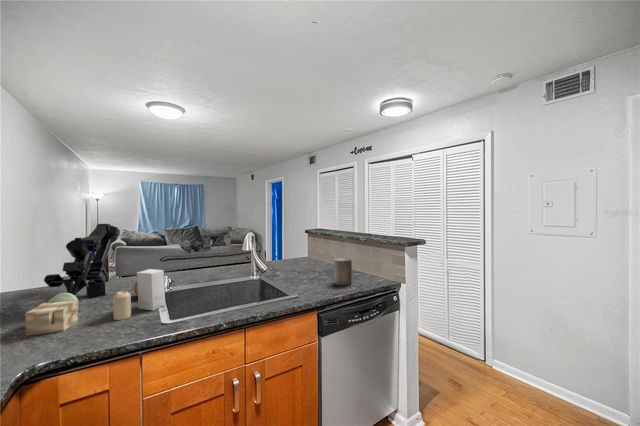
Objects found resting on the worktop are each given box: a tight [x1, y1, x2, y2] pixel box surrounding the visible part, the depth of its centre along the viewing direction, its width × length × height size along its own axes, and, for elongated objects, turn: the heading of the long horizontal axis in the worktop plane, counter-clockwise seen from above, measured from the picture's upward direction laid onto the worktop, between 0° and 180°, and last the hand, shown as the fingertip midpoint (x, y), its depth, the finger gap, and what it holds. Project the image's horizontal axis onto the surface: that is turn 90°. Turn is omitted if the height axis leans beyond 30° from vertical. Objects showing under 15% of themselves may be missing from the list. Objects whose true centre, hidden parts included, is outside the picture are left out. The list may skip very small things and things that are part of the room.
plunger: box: [33, 292, 80, 326], centre depth 98 cm, size 14×9×9 cm, turn 19°
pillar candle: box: [333, 256, 353, 287], centre depth 154 cm, size 10×10×15 cm
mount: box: [25, 299, 79, 336], centre depth 98 cm, size 10×10×8 cm
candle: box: [112, 290, 132, 321], centre depth 107 cm, size 6×6×10 cm
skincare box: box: [136, 268, 166, 311], centre depth 117 cm, size 8×7×16 cm
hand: (69, 298), depth 109 cm, fingers closed
